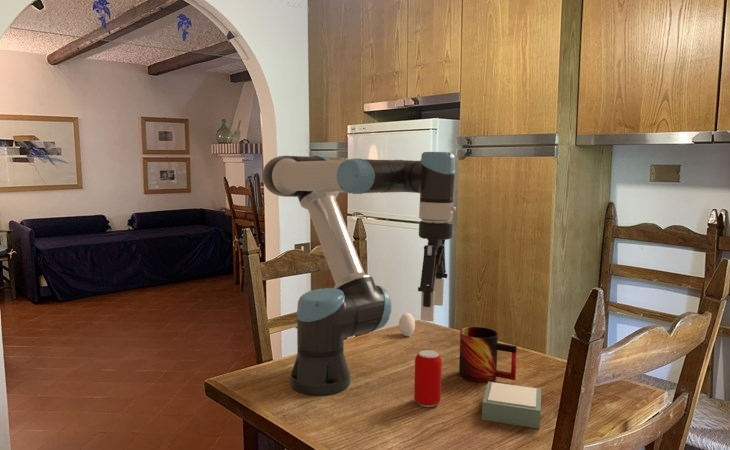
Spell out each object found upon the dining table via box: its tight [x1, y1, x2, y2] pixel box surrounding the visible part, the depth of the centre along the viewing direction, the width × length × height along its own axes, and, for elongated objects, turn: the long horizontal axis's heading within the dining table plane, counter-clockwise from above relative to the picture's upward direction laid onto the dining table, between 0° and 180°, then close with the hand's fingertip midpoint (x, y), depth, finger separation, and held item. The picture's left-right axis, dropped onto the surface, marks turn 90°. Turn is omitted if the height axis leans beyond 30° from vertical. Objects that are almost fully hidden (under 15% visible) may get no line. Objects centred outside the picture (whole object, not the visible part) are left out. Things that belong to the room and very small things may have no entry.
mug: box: [458, 326, 518, 385], centre depth 139 cm, size 10×14×12 cm
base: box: [481, 381, 542, 430], centre depth 119 cm, size 12×12×4 cm
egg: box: [398, 312, 416, 337], centre depth 173 cm, size 5×5×8 cm
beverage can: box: [413, 349, 442, 408], centre depth 123 cm, size 6×6×12 cm
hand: (432, 312), depth 122 cm, fingers open, 13 cm apart
